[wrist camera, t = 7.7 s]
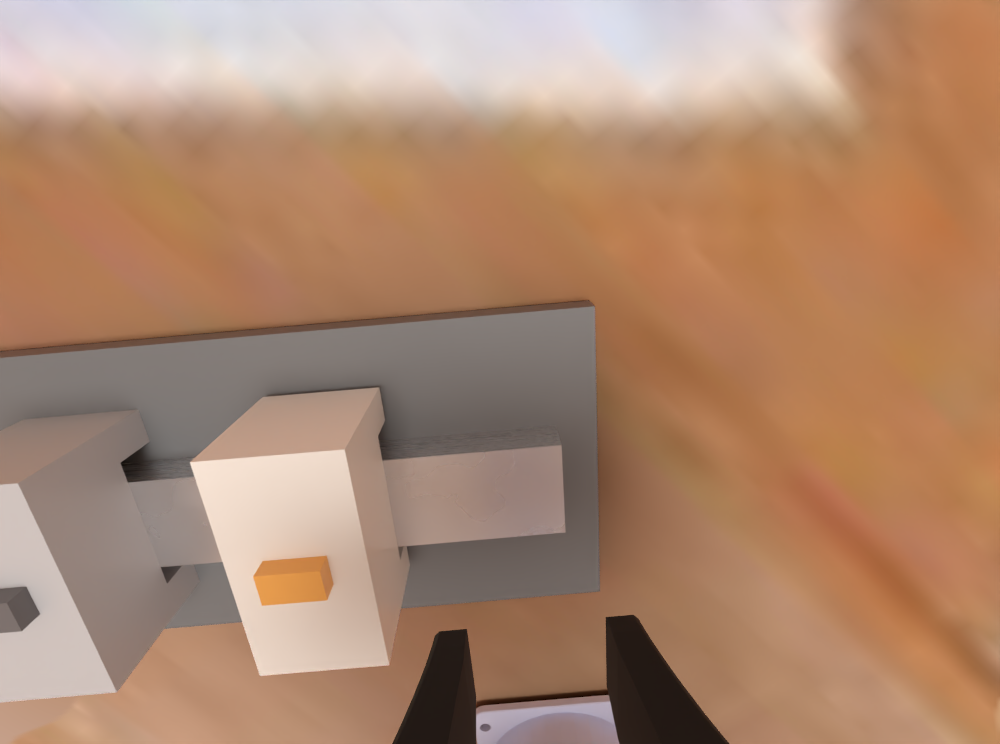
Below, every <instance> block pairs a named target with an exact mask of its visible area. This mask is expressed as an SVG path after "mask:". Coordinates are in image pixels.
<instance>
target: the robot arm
mask: <svg viewBox="0 0 1000 744" xmlns="http://www.w3.org/2000/svg"><path fill="white" fill-rule="evenodd" d="M606 664H607V688H608V693H609V695H599V696H588V697H576V698H564V699H552V700H541V701H529V702H517V703H506V704H494V705H483V706H479V707H478V708H476V693H475V686H474V678H473V671H472V664H471V657H470V649H469V642H468V635H467V629H463V630H452V631H440V632H439V633H438V634H437V635H436V636H435V638H434V641H433V645H432V648H431V651H430V654H429V657H428V660H427V663H426V666H425V668H424V671H423V674H422V676H421V679H420V682H419V684H418V687H417V689H416V692H415V694H414V696H413V699H412V701H411V703H410V706H409V708H408V710H407V712H406V715H405V717H404V719H403V722H402V724H401V726H400V728H399V731H398V733H397V735H396V737H395V739H394V741H393V743H392V744H476V739H477V744H729V743H728V742H727V740H726V739H725V738H724V737H723V736H722V734H721V733H720V732H719V731H718V730H717V728H716V727H715V726H714V725H713V723H712V722H711V721H710V720H709V718H708V717H707V716H706V715H705V713H704V712H703V711H702V710H701V708H700V707H699V706H698V704H697V703H696V702H695V700H694V699H693V698H692V697H691V695H690V694H689V693H688V691H687V690H686V689H685V687H684V686H683V685H682V683H681V682H680V681H679V679H678V678H677V677H676V675H675V674H674V672H673V671H672V670H671V668H670V667H669V665H668V664H667V662H666V661H665V660H664V658H663V657H662V655H661V654H660V652H659V651H658V649H657V648H656V646H655V645H654V643H653V642H652V640H651V639H650V637H649V636H648V634H647V632H646V631H645V629H644V628H643V626H642V624H641V623H640V621H639V619H638V618H637V617H635V616H634V615H627V616H615V617H606Z"/></svg>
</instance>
